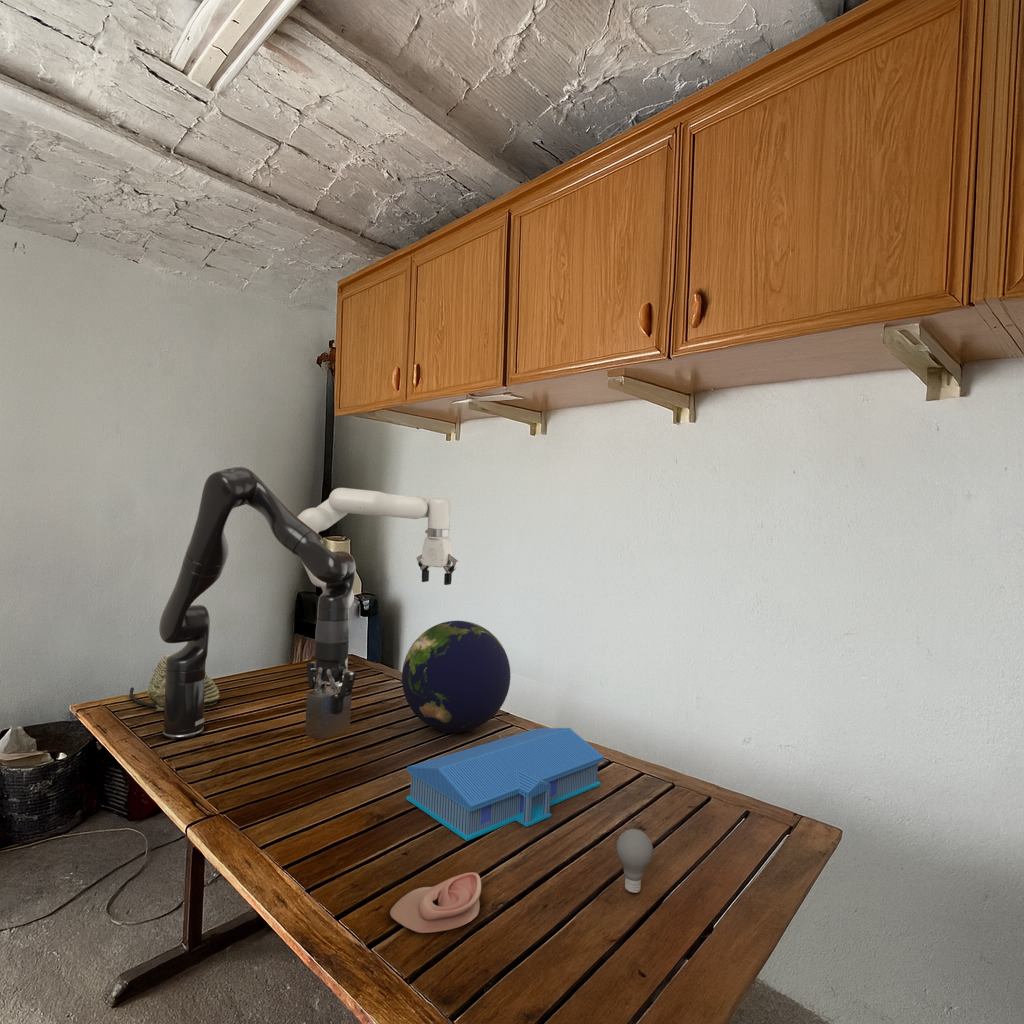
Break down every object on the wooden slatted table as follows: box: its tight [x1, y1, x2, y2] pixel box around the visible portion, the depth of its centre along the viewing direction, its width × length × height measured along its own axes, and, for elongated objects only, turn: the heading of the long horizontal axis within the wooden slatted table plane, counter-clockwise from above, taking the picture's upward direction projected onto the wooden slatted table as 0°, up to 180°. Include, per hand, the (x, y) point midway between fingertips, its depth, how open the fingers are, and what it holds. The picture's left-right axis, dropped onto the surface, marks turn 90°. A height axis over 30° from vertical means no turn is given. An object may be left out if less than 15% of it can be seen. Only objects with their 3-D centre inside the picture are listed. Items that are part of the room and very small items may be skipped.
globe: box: [401, 620, 512, 734], centre depth 175 cm, size 30×30×30 cm
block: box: [304, 685, 353, 741], centre depth 147 cm, size 5×9×10 cm, turn 149°
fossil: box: [147, 654, 221, 712], centre depth 185 cm, size 9×18×15 cm, turn 132°
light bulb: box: [615, 828, 654, 894], centre depth 106 cm, size 6×6×10 cm
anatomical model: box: [389, 871, 482, 934], centre depth 98 cm, size 13×4×12 cm
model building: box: [405, 727, 605, 842], centre depth 138 cm, size 39×24×10 cm, turn 132°
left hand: (328, 710), depth 147 cm, fingers closed on block, 5 cm apart
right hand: (436, 583), depth 220 cm, fingers open, 9 cm apart
